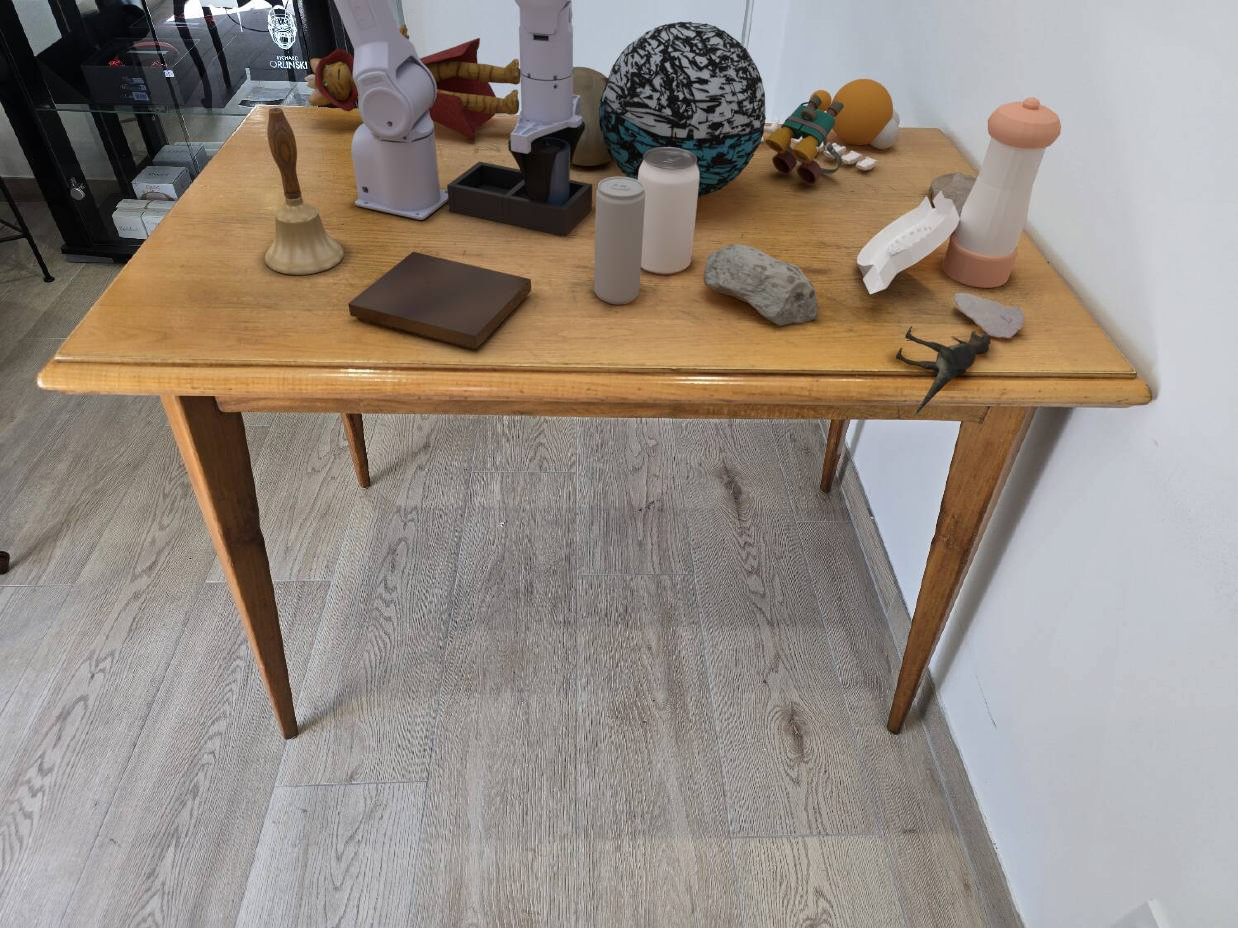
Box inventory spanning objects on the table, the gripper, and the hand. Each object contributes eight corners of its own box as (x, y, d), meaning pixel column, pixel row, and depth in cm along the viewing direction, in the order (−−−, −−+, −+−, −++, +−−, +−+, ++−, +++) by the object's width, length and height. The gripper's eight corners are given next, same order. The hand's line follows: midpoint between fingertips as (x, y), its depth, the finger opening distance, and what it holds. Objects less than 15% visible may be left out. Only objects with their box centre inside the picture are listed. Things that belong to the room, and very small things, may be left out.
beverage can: (634, 309, 91) (641, 199, 83) (589, 303, 92) (591, 193, 84) (642, 287, 95) (649, 179, 87) (599, 281, 95) (602, 173, 88)
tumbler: (521, 207, 105) (519, 148, 100) (539, 191, 108) (537, 134, 104) (559, 215, 103) (559, 156, 99) (576, 199, 107) (577, 141, 102)
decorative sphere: (637, 239, 103) (648, 57, 90) (572, 172, 117) (573, 7, 104) (784, 214, 110) (814, 41, 97) (706, 154, 123) (723, -4, 110)
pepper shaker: (974, 293, 96) (1035, 115, 84) (928, 264, 101) (979, 91, 89) (1022, 280, 99) (1088, 106, 87) (974, 252, 104) (1031, 83, 91)
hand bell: (359, 250, 98) (335, 104, 88) (310, 282, 93) (278, 130, 82) (300, 233, 101) (270, 89, 91) (248, 264, 95) (210, 114, 85)
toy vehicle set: (866, 165, 119) (862, 178, 121) (879, 157, 122) (876, 170, 123) (791, 136, 125) (789, 149, 126) (806, 129, 127) (803, 142, 128)
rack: (449, 211, 107) (446, 185, 105) (480, 186, 113) (479, 161, 111) (565, 236, 103) (565, 210, 101) (592, 209, 109) (592, 184, 107)
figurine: (513, 137, 118) (293, 130, 119) (527, 169, 131) (328, 162, 132) (519, 18, 118) (299, 11, 119) (531, 61, 131) (332, 55, 132)
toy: (806, 171, 128) (910, 155, 127) (807, 105, 121) (917, 88, 120) (793, 141, 134) (893, 126, 133) (794, 78, 127) (898, 61, 127)
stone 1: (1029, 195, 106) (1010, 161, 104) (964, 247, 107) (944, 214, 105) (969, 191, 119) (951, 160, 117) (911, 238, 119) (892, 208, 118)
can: (697, 255, 101) (708, 151, 93) (681, 280, 96) (692, 174, 88) (643, 244, 102) (649, 141, 95) (625, 269, 98) (630, 163, 90)
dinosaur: (925, 325, 92) (988, 355, 90) (852, 405, 79) (924, 442, 76) (939, 295, 90) (1004, 325, 88) (866, 372, 76) (941, 409, 74)
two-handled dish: (981, 189, 103) (976, 175, 102) (925, 274, 86) (918, 258, 86) (900, 222, 110) (894, 209, 109) (833, 307, 93) (826, 292, 93)
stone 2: (1006, 348, 89) (1014, 332, 88) (938, 317, 92) (945, 301, 91) (1027, 325, 92) (1034, 309, 91) (961, 295, 95) (967, 279, 94)
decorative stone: (694, 317, 91) (699, 273, 87) (708, 268, 99) (713, 226, 95) (814, 334, 89) (824, 290, 86) (818, 283, 97) (827, 241, 94)
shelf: (351, 321, 87) (347, 303, 86) (415, 268, 96) (412, 251, 95) (476, 354, 84) (475, 336, 83) (531, 296, 92) (531, 279, 91)
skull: (598, 94, 130) (609, 25, 120) (625, 189, 123) (639, 124, 113) (521, 98, 127) (526, 27, 117) (544, 194, 120) (551, 128, 110)
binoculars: (770, 180, 123) (754, 129, 114) (810, 132, 124) (797, 77, 115) (825, 203, 118) (812, 150, 109) (866, 153, 119) (856, 97, 110)
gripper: (552, 98, 90) (553, 223, 99) (605, 60, 100) (602, 176, 109) (490, 87, 92) (497, 211, 100) (548, 51, 102) (550, 165, 111)
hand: (548, 192), depth 105 cm, fingers closed on tumbler, 5 cm apart
